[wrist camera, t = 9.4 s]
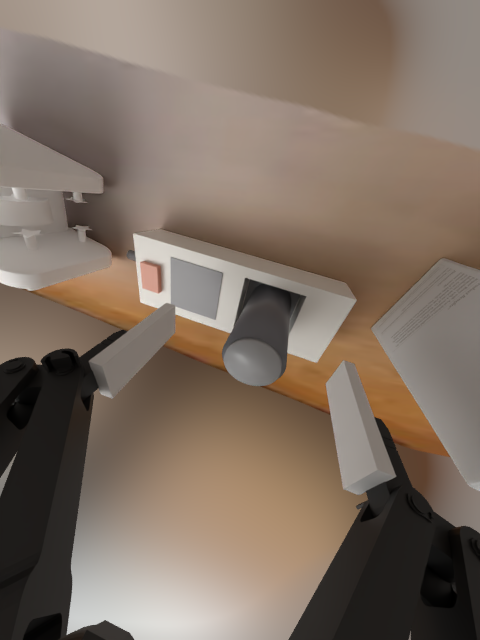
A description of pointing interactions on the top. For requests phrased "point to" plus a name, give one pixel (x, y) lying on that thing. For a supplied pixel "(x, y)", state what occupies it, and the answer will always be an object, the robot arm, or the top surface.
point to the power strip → (236, 288)
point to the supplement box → (441, 356)
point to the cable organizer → (43, 215)
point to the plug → (260, 338)
